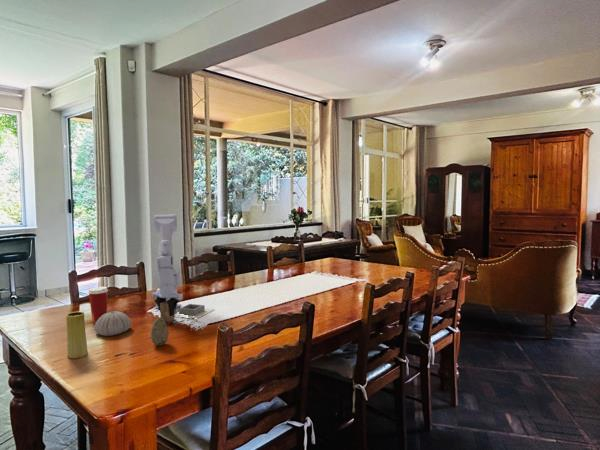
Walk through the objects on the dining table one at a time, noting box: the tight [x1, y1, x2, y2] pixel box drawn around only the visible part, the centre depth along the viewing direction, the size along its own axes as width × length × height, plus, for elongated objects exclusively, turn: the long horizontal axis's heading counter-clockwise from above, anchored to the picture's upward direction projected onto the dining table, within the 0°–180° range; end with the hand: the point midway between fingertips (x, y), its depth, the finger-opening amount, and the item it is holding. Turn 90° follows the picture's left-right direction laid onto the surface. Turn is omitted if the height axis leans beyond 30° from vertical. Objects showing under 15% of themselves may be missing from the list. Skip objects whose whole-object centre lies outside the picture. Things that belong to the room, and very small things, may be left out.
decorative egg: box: [150, 317, 169, 347], centre depth 146 cm, size 6×6×10 cm
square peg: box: [159, 300, 176, 323], centre depth 173 cm, size 4×4×8 cm
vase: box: [65, 311, 89, 359], centre depth 137 cm, size 6×6×14 cm
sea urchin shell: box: [93, 310, 132, 337], centre depth 160 cm, size 13×14×8 cm
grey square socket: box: [175, 303, 215, 319], centre depth 183 cm, size 14×14×4 cm
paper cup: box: [87, 286, 109, 324], centre depth 174 cm, size 8×8×14 cm
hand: (167, 314), depth 173 cm, fingers closed on square peg, 4 cm apart
